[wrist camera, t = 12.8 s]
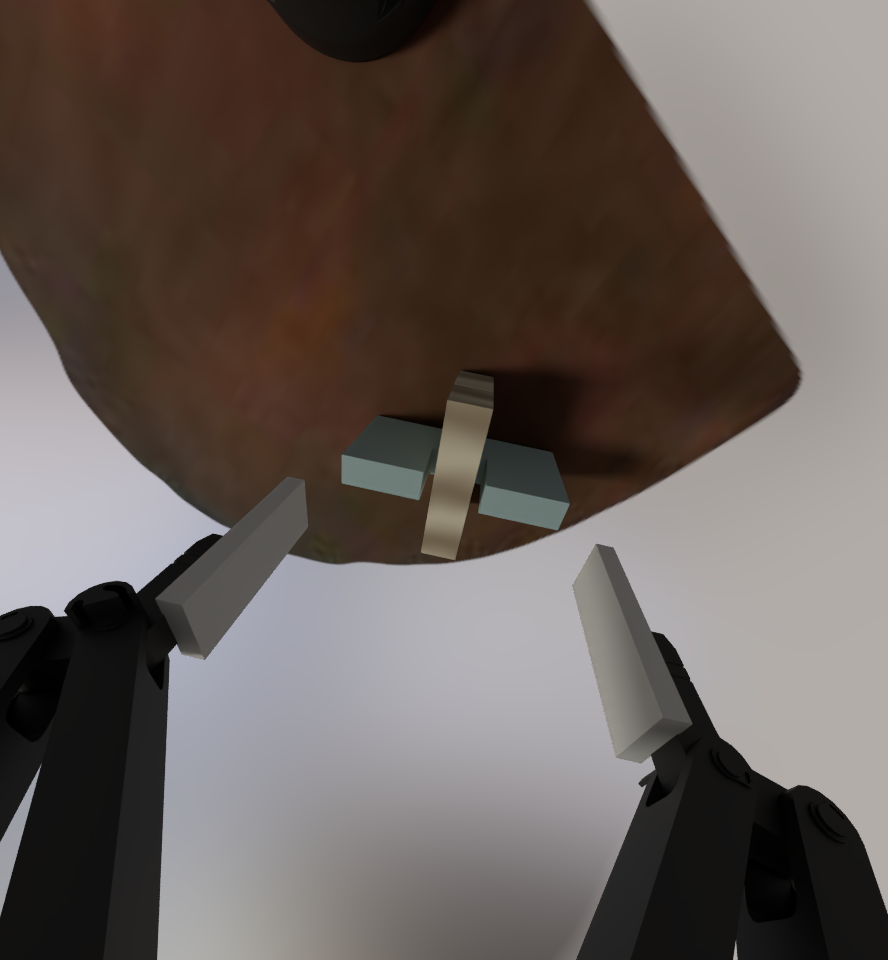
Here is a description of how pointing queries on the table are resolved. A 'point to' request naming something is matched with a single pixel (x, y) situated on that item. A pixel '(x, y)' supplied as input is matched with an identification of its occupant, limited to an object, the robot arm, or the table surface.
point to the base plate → (502, 474)
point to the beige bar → (458, 462)
